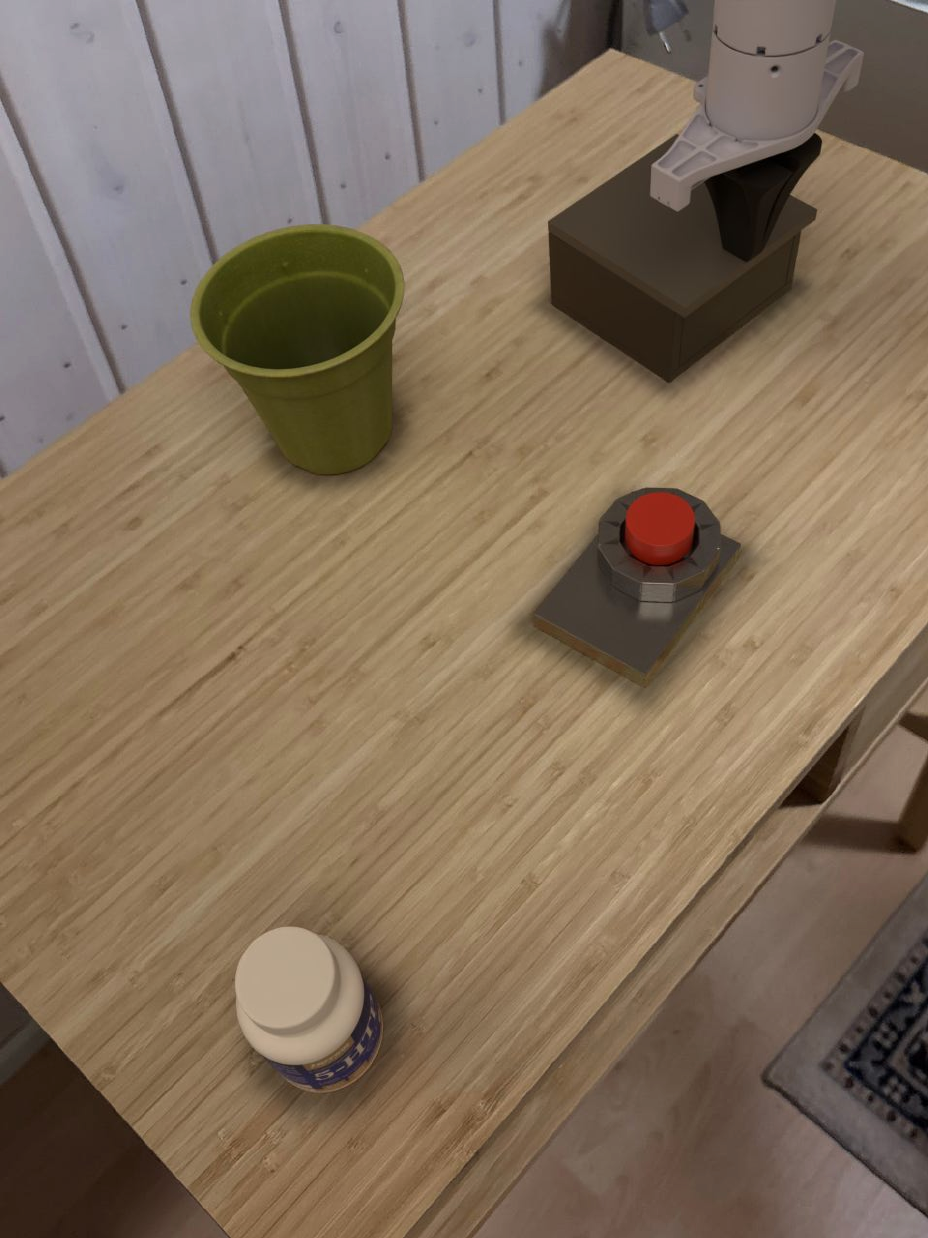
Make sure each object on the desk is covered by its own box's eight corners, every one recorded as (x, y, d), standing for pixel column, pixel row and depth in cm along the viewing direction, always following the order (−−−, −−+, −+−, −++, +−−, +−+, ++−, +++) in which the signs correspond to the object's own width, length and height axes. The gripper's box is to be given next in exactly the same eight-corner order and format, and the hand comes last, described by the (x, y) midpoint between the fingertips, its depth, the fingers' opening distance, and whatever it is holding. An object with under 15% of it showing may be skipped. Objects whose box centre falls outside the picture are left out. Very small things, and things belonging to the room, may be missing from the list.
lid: (815, 220, 70) (817, 208, 69) (684, 318, 66) (685, 307, 66) (676, 144, 75) (676, 132, 74) (547, 231, 71) (547, 220, 71)
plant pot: (207, 430, 73) (150, 292, 64) (359, 340, 76) (326, 195, 67) (308, 541, 67) (261, 408, 58) (467, 439, 70) (448, 296, 61)
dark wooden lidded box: (791, 288, 75) (805, 214, 70) (669, 383, 71) (674, 311, 67) (671, 218, 80) (675, 144, 75) (550, 303, 76) (548, 232, 71)
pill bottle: (341, 1118, 50) (297, 1075, 42) (246, 1055, 52) (189, 1003, 44) (407, 1009, 52) (376, 950, 45) (314, 952, 54) (269, 886, 46)
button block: (633, 501, 67) (635, 468, 64) (741, 554, 64) (747, 521, 61) (533, 626, 63) (531, 595, 60) (644, 688, 60) (646, 658, 57)
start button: (647, 502, 63) (648, 481, 62) (705, 530, 62) (707, 509, 60) (612, 546, 62) (612, 526, 60) (670, 576, 60) (672, 556, 59)
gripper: (803, -64, 60) (770, 162, 72) (608, 60, 56) (606, 280, 67) (916, -19, 57) (863, 211, 68) (719, 116, 53) (697, 337, 64)
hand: (742, 249), depth 68 cm, fingers closed
